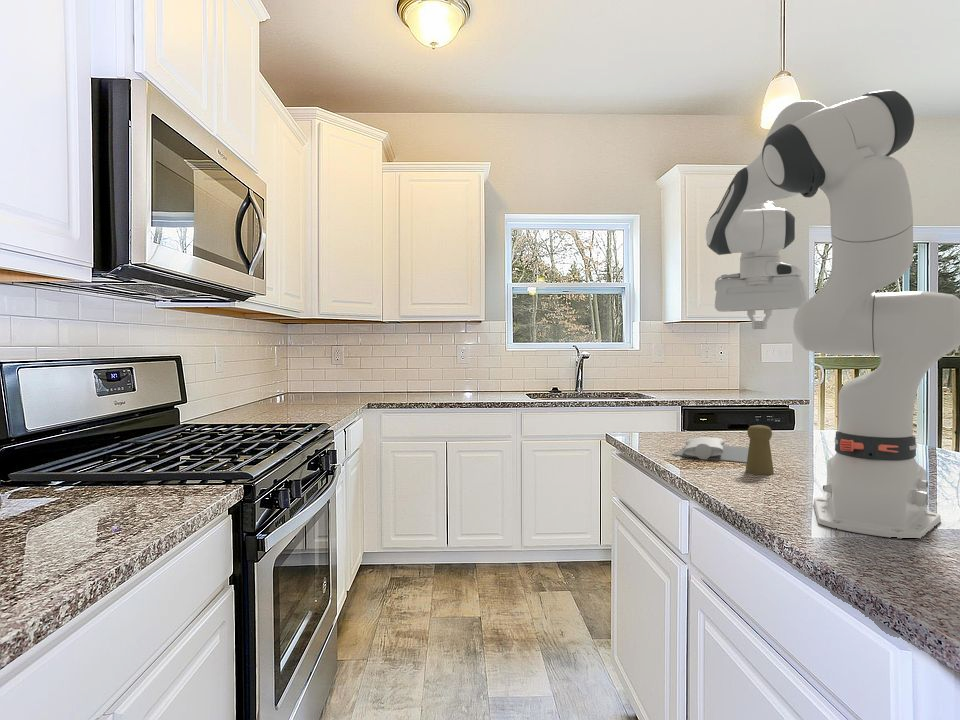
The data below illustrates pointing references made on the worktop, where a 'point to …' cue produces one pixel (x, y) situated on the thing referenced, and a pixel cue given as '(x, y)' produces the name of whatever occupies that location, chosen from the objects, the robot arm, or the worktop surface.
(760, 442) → the cork
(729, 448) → the mat
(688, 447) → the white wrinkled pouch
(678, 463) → the worktop surface
